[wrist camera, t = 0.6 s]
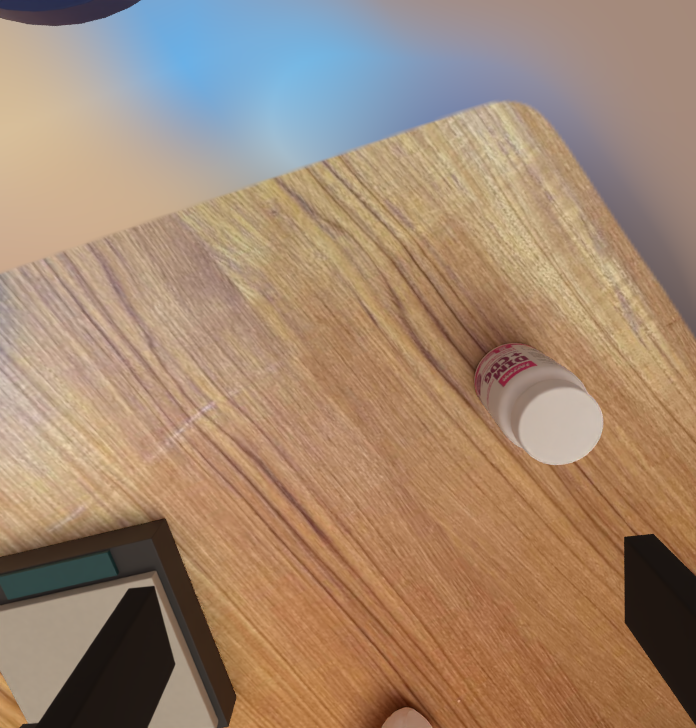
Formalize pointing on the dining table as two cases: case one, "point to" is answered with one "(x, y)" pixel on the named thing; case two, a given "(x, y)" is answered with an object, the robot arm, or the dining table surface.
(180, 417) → the dining table surface
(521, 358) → the pill bottle
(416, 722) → the garlic bulb
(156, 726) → the scale
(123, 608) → the robot arm
